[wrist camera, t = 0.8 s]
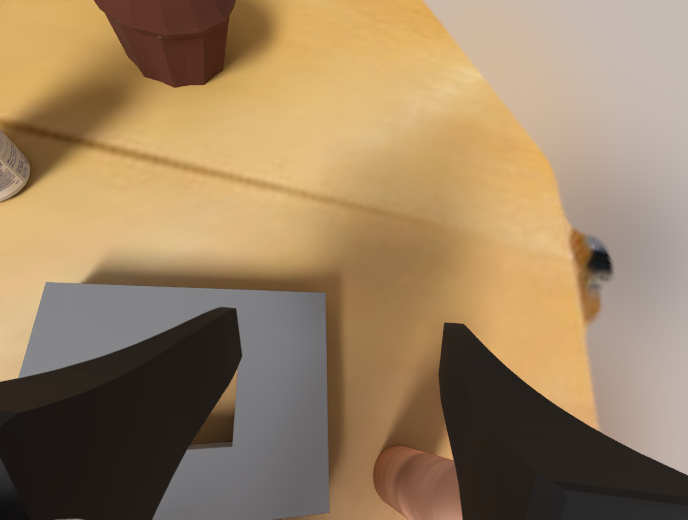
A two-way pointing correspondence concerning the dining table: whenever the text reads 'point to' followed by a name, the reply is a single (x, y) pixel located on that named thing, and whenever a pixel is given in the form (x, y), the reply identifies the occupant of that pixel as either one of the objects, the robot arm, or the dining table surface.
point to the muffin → (172, 37)
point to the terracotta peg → (418, 484)
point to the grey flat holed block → (251, 394)
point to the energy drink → (11, 168)
